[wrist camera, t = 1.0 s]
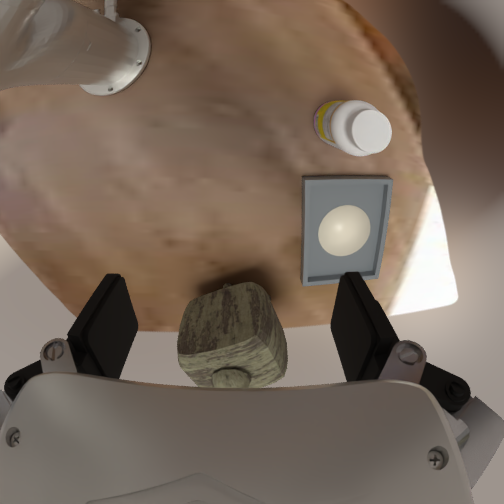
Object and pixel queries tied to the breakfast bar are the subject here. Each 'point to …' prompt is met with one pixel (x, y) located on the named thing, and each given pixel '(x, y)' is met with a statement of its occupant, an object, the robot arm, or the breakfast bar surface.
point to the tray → (343, 226)
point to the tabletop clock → (232, 339)
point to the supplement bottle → (353, 127)
